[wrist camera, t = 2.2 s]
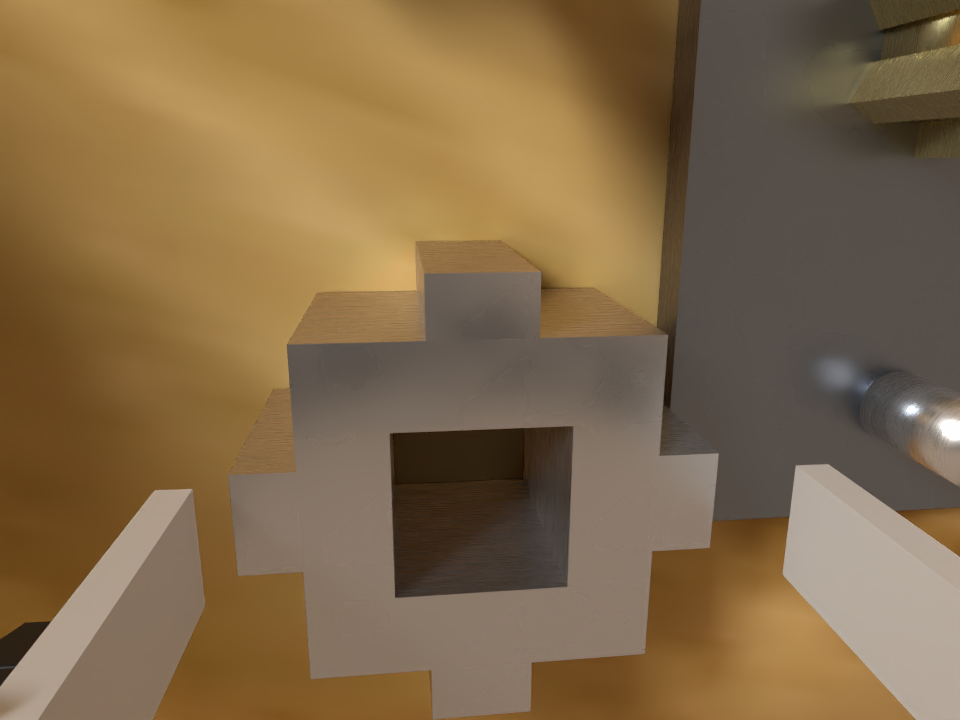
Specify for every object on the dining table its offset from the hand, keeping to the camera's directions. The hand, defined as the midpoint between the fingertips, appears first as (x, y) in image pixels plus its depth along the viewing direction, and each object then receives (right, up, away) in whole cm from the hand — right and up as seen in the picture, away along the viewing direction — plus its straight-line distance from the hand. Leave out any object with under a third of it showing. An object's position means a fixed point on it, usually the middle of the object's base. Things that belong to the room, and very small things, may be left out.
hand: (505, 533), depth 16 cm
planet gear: (-1, +2, +6) cm, 7 cm away
